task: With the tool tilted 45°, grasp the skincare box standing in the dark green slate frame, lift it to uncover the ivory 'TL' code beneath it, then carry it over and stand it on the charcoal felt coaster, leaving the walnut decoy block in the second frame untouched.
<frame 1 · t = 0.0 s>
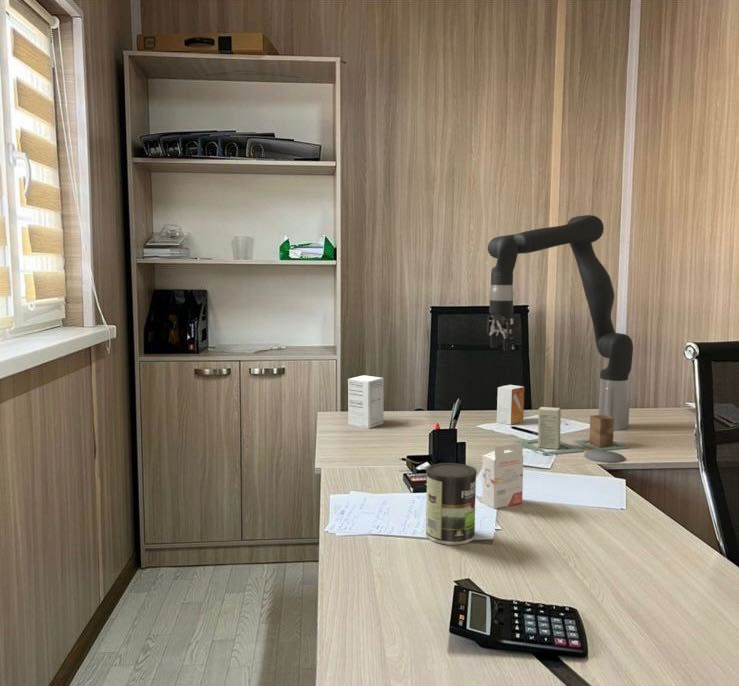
hand: (500, 349, 218), 29 cm above the table, tool pointing down, fingers open, 8 cm apart
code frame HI: (600, 445, 211), on the table
walnut block: (600, 444, 211), on the table, touching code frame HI
ink cartridge box: (501, 503, 159), on the table
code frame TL: (548, 447, 209), on the table
supplement box: (365, 425, 238), on the table
coffee can: (450, 536, 140), on the table
felt coaster: (604, 457, 198), on the table
skincare box: (548, 447, 209), on the table, touching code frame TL
small box: (510, 422, 243), on the table
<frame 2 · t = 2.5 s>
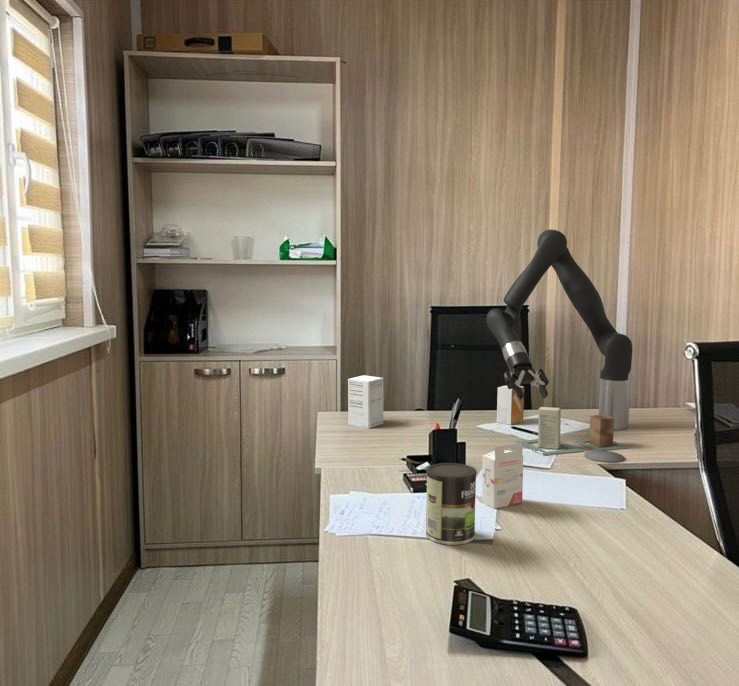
hand: (534, 397, 216), 14 cm above the table, tool tilted 45°, fingers open, 8 cm apart
nothing on the table moved.
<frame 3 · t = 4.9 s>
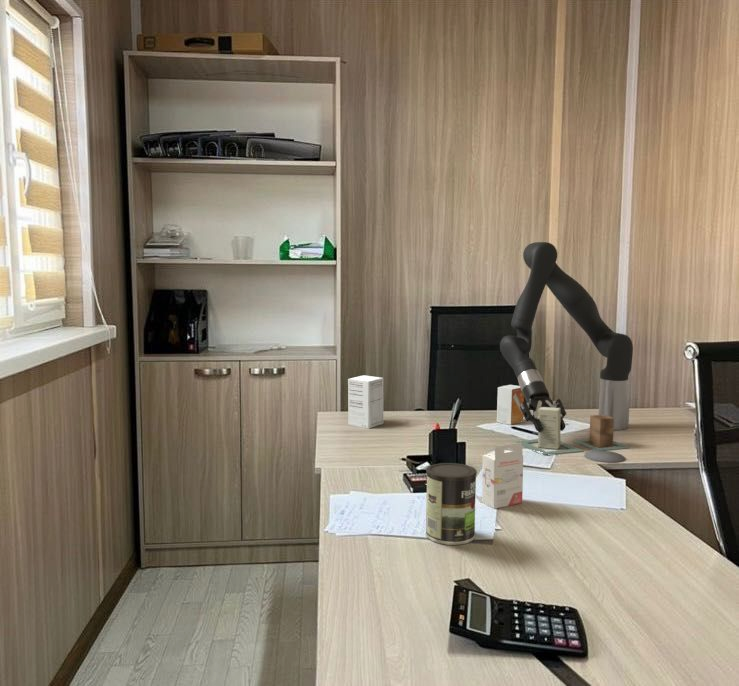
hand: (552, 430, 207), 6 cm above the table, tool tilted 45°, fingers closed on skincare box, 7 cm apart
skincare box: (548, 447, 209), on the table, touching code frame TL, gripper
everything else where it was.
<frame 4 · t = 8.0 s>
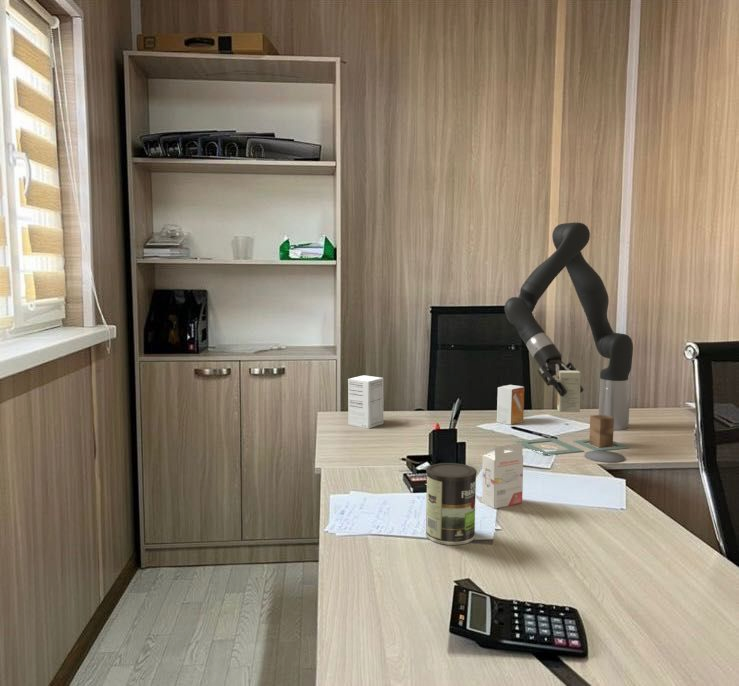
hand: (572, 393, 201), 18 cm above the table, tool tilted 45°, fingers closed on skincare box, 7 cm apart
skincare box: (567, 411, 203), point 12 cm above the table, touching gripper
everything else where it was.
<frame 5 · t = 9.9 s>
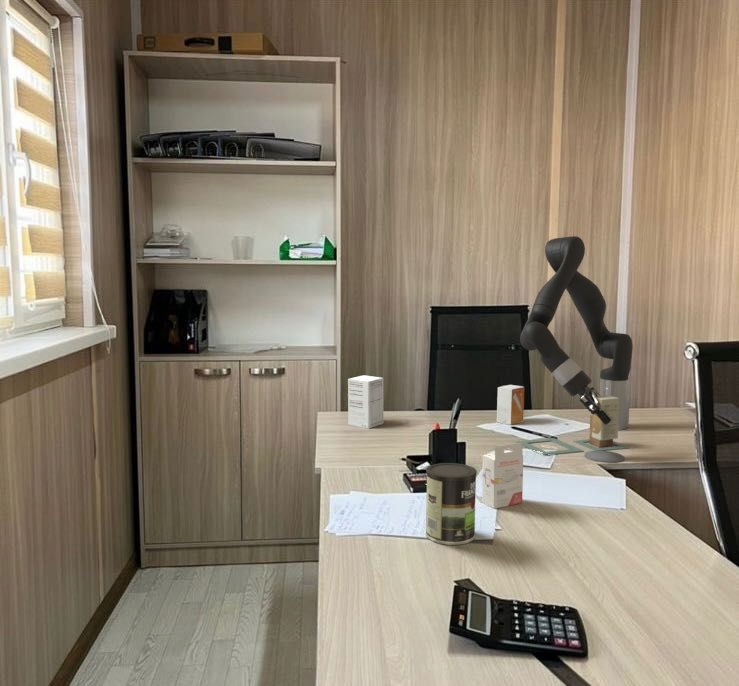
hand: (610, 419, 196), 11 cm above the table, tool tilted 45°, fingers closed on skincare box, 7 cm apart
skincare box: (604, 438, 197), point 6 cm above the table, touching gripper
everything else where it was.
when the fingers open (7 cm above the table, at t = 11.4 s): skincare box stays where it is, resting on felt coaster.
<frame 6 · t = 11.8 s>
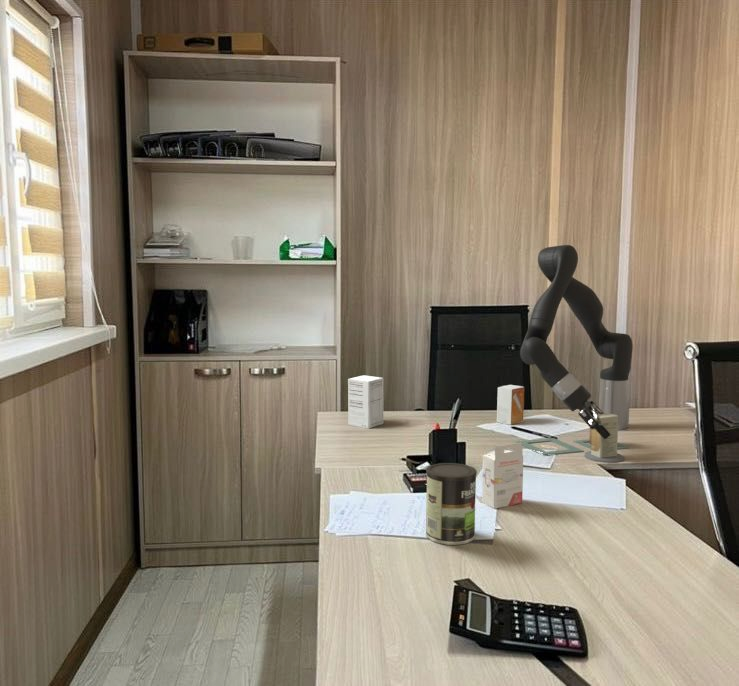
hand: (609, 433, 196), 7 cm above the table, tool tilted 45°, fingers open, 8 cm apart
skincare box: (603, 456, 197), resting on felt coaster
everything else where it was.
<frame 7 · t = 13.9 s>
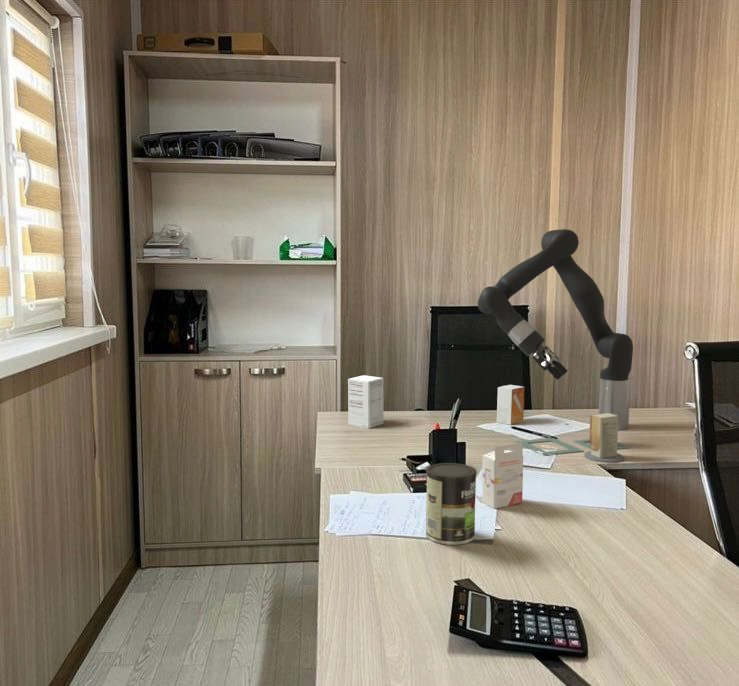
hand: (562, 375, 207), 22 cm above the table, tool tilted 45°, fingers open, 8 cm apart
nothing on the table moved.
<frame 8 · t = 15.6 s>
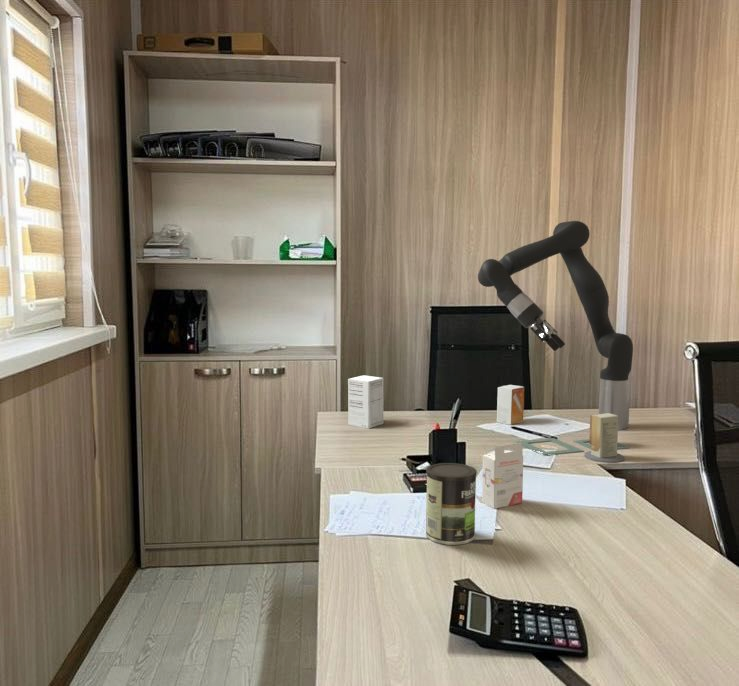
hand: (560, 347, 210), 31 cm above the table, tool tilted 45°, fingers open, 8 cm apart
nothing on the table moved.
at the end: skincare box 0.2 cm from the felt coaster (horizontally); skincare box tilted 0°; the gripper is holding nothing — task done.
